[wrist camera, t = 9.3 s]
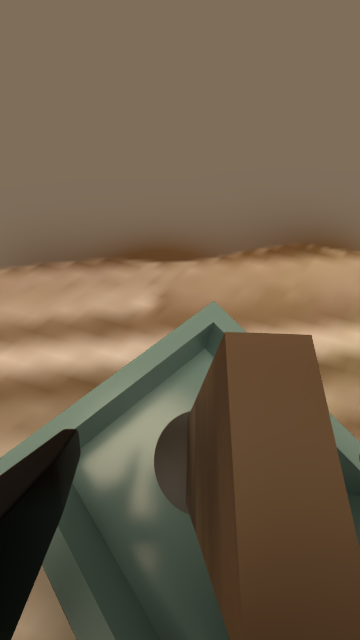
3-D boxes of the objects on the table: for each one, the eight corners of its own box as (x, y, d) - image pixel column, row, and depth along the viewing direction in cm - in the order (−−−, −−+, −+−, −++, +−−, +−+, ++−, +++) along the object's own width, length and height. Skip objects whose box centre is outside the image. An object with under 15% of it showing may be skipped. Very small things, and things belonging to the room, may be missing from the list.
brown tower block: (245, 513, 14) (592, 777, 2) (151, 510, 14) (60, 769, 2) (238, 414, 16) (400, 313, 5) (158, 412, 16) (126, 302, 5)
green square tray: (353, 492, 15) (425, 506, 11) (184, 723, 11) (193, 893, 7) (204, 335, 20) (214, 300, 15) (44, 460, 16) (-6, 461, 11)
